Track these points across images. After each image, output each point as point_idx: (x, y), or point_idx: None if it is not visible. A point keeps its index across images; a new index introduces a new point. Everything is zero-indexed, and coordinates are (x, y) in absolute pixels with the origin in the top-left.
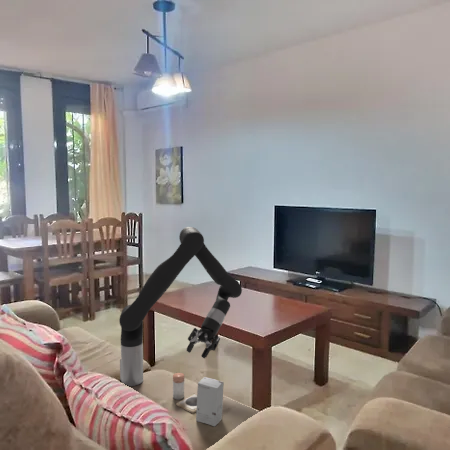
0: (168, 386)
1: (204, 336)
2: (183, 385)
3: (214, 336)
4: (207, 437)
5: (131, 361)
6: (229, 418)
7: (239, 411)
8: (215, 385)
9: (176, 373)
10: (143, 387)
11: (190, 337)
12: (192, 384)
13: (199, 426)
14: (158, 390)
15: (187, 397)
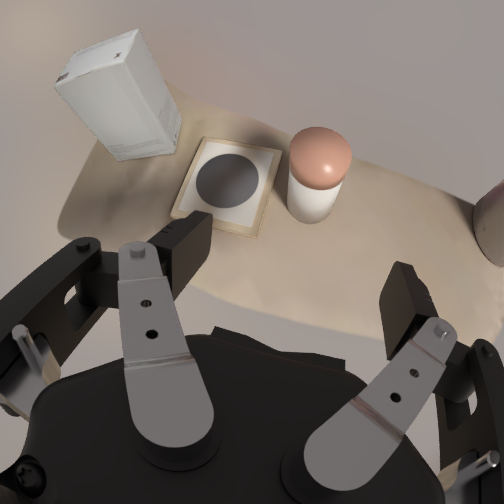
0: (391, 254)
1: (231, 409)
2: (289, 175)
3: (24, 390)
4: None
5: None
6: (99, 174)
7: (79, 218)
8: (78, 54)
9: (346, 163)
10: (451, 209)
11: (483, 366)
12: (311, 318)
13: None
14: (401, 212)
15: (266, 196)
